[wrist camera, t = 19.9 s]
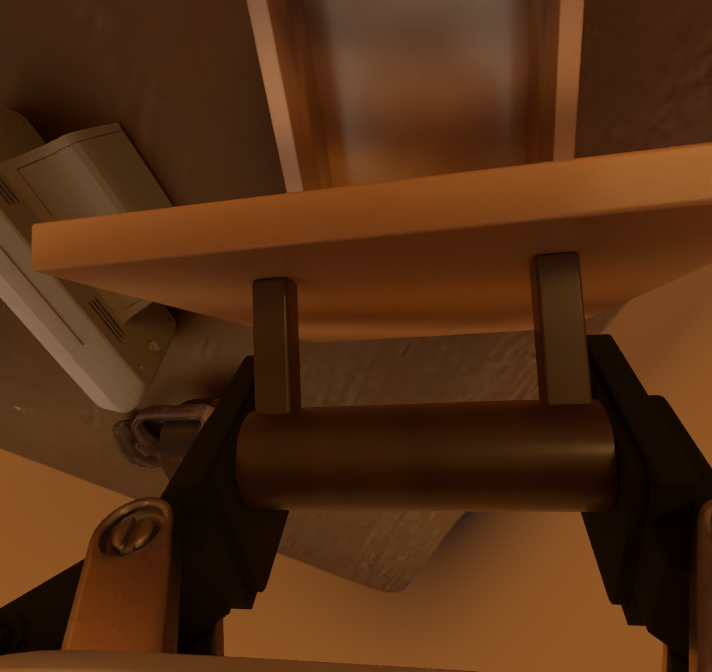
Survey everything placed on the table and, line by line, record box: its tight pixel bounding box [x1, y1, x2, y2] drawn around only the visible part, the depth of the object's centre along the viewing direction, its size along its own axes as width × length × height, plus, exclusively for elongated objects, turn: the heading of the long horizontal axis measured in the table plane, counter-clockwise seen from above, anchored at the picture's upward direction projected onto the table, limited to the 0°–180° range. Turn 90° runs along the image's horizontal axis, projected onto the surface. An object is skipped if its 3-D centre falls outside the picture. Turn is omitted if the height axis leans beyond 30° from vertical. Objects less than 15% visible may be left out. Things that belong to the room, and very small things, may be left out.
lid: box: [31, 142, 712, 512], centre depth 15 cm, size 16×12×5 cm
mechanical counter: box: [112, 398, 221, 481], centre depth 34 cm, size 7×13×10 cm
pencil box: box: [246, 0, 584, 193], centre depth 22 cm, size 16×12×7 cm
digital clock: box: [0, 107, 176, 413], centre depth 26 cm, size 16×9×11 cm, turn 16°
